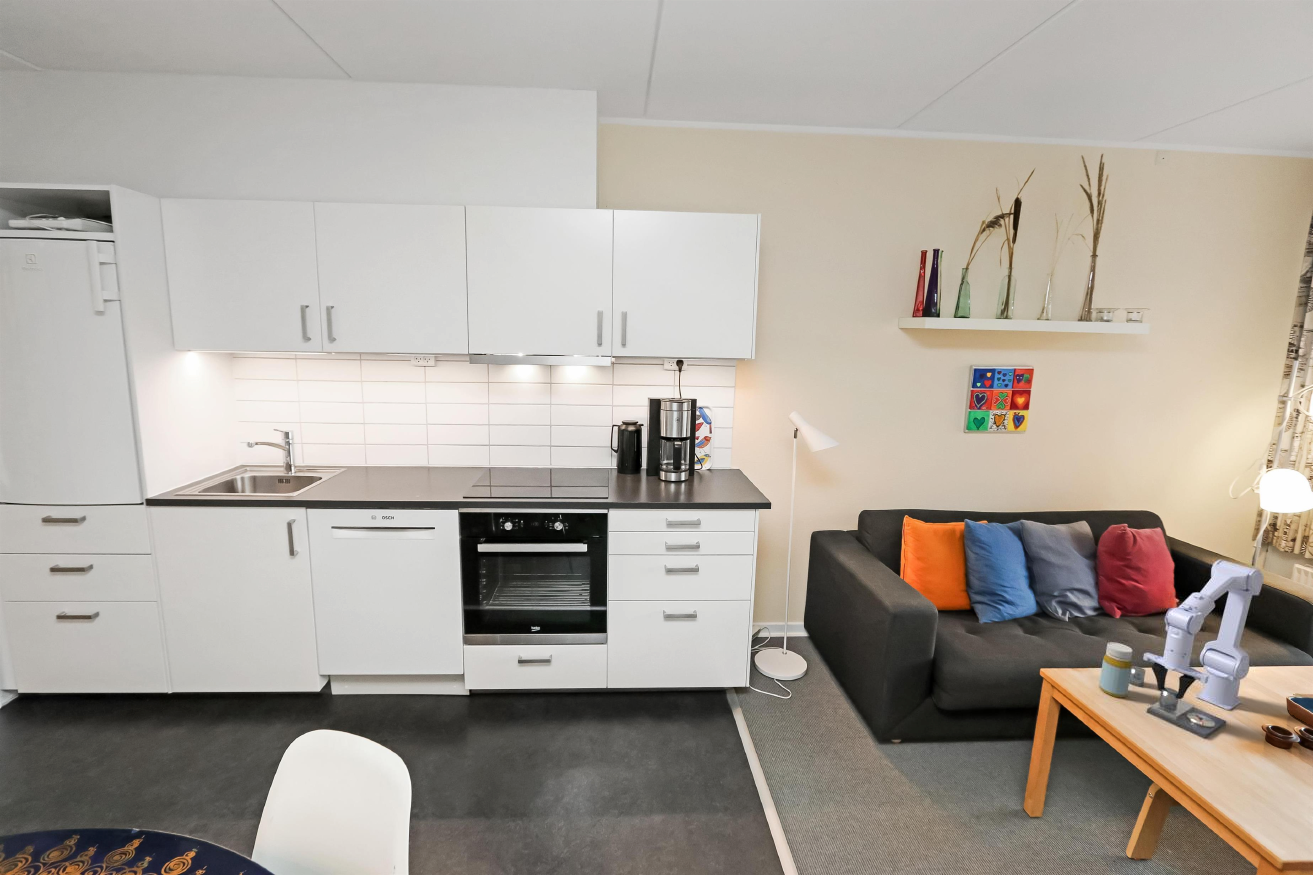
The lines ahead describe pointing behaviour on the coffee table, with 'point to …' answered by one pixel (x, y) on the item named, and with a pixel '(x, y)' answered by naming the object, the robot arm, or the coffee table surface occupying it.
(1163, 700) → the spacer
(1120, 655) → the bottle
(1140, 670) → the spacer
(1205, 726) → the scale
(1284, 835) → the coffee table surface
